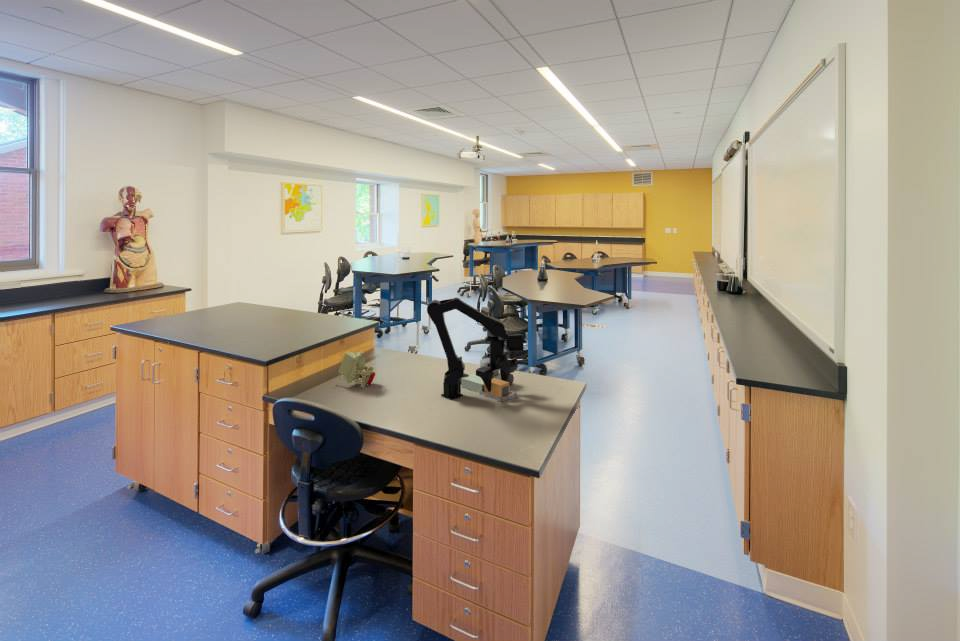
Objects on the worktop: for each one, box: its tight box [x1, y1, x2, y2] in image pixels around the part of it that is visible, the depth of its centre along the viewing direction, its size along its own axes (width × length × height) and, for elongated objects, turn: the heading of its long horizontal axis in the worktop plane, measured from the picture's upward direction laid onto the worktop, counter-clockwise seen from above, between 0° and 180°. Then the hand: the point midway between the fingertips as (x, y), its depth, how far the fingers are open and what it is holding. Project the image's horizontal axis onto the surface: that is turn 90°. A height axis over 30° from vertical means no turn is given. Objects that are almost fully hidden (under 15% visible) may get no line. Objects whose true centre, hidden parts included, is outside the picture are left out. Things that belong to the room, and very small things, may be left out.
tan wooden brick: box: [484, 378, 510, 397], centre depth 196 cm, size 5×9×6 cm, turn 45°
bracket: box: [478, 389, 518, 403], centre depth 197 cm, size 9×12×2 cm
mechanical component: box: [335, 350, 376, 389], centre depth 209 cm, size 8×17×20 cm, turn 89°
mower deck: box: [459, 357, 515, 393], centre depth 208 cm, size 18×15×10 cm
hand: (496, 389), depth 197 cm, fingers open, 8 cm apart
